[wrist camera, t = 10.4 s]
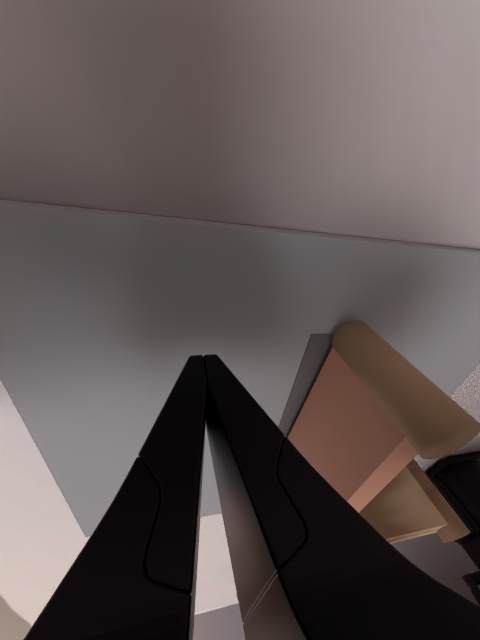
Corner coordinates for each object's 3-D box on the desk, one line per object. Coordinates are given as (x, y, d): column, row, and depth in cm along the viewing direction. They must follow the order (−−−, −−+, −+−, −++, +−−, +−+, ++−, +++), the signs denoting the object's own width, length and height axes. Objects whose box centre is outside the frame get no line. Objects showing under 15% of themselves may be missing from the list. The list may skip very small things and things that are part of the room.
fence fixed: (414, 452, 18) (475, 529, 14) (403, 463, 18) (459, 539, 15) (294, 469, 15) (329, 566, 12) (288, 481, 16) (319, 575, 12)
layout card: (549, 257, 11) (569, 262, 10) (367, 479, 21) (372, 488, 21) (-75, 191, 6) (-103, 194, 5) (88, 525, 16) (85, 538, 16)
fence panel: (284, 481, 16) (313, 576, 12) (261, 484, 16) (285, 583, 12) (375, 321, 10) (494, 420, 6) (341, 319, 9) (446, 423, 6)
